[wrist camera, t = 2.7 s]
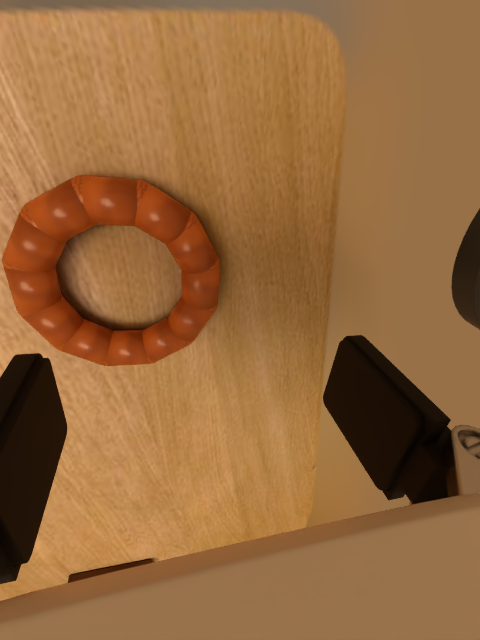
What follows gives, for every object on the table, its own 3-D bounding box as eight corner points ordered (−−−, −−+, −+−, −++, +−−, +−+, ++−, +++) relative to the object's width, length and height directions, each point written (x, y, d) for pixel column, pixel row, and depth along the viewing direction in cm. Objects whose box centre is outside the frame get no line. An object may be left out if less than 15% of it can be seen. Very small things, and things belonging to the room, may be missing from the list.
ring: (221, 183, 15) (228, 189, 14) (211, 347, 20) (216, 366, 19) (-12, 165, 13) (-38, 169, 11) (41, 355, 18) (29, 378, 16)
